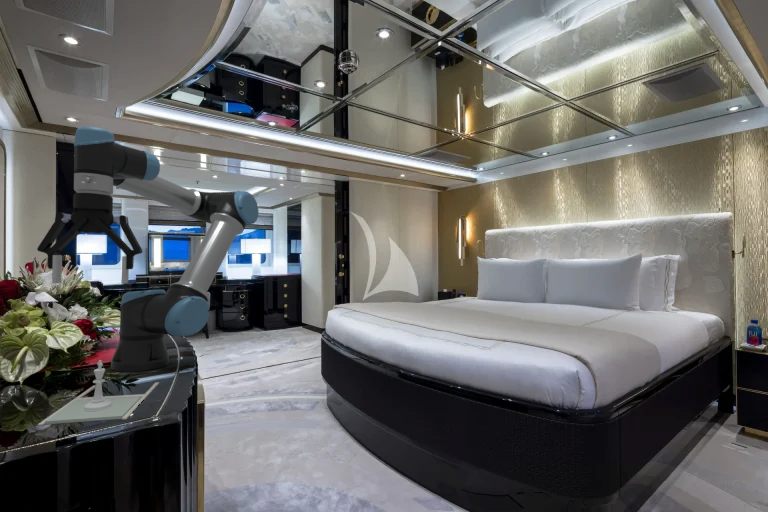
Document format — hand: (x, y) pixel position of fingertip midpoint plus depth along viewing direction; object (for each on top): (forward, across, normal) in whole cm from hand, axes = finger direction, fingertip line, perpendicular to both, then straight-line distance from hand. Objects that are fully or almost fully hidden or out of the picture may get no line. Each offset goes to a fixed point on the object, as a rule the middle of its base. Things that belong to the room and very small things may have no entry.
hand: (91, 283), depth 92 cm
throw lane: (+27, +6, -6) cm, 28 cm away
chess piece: (+26, +5, -12) cm, 29 cm away
